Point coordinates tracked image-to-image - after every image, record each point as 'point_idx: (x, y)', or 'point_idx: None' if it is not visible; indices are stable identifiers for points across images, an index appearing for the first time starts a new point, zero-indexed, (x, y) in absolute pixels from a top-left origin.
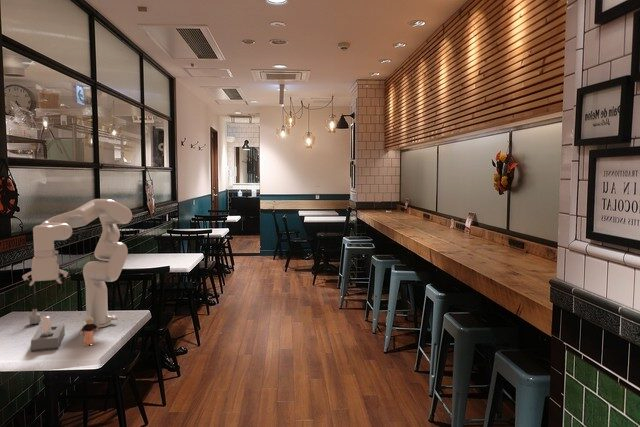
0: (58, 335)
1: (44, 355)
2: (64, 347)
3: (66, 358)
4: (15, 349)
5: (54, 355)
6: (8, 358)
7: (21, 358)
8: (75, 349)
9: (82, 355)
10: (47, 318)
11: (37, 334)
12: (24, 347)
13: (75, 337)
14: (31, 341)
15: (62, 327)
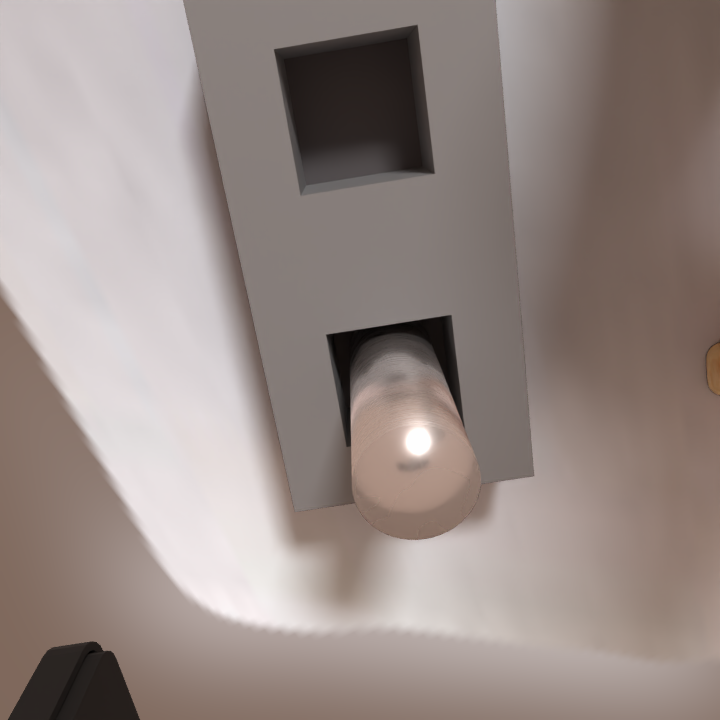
0: (522, 405)
1: (432, 541)
2: (546, 383)
3: (609, 620)
4: (130, 365)
5: (508, 552)
6: (181, 561)
7: (280, 575)
8: (647, 447)
9: (715, 582)
10: (450, 522)
11: (286, 334)
12: (187, 323)
13: (597, 82)
14: (299, 503)
15: (496, 86)
